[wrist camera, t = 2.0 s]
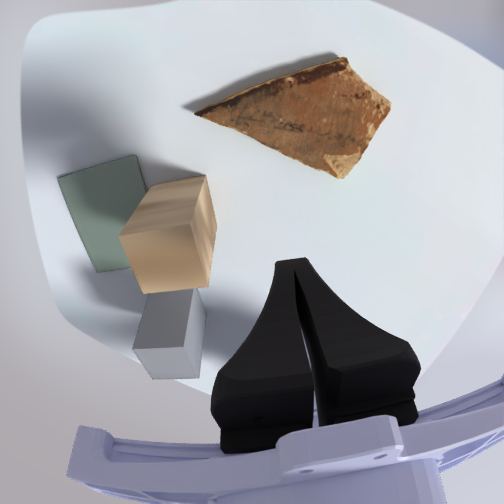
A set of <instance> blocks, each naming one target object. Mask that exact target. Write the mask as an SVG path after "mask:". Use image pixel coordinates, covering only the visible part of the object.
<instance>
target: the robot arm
mask: <svg viewBox="0 0 504 504" xmlns="http://www.w3.org/2000/svg"><path fill="white" fill-rule="evenodd" d="M420 370H421V366H420V363H419V360H418V358H417V356H416V354H415V352H414V351H413V349H412V347H411V346H410V344H409V343H408V342H407V341H405V340H403V339H401V338H398V337H396V336H394V335H392V334H390V333H388V332H386V331H384V330H382V329H380V328H379V327H377V326H375V325H374V324H372V323H371V322H369V321H368V320H366V319H365V318H363V317H362V316H360V315H359V314H358V313H357V312H355V311H354V310H353V309H352V308H350V307H349V306H348V305H347V304H346V303H345V302H343V301H342V300H341V299H340V298H339V297H338V296H337V295H336V294H335V293H334V292H333V291H332V290H331V289H330V287H329V286H328V285H327V284H326V283H325V282H324V281H323V279H322V278H321V277H320V276H319V274H318V273H317V272H316V271H315V269H314V268H313V266H312V265H311V263H310V262H309V260H308V259H307V258H306V257H304V258H297V259H290V260H282V261H277V262H276V263H275V271H274V277H273V281H272V285H271V288H270V292H269V295H268V297H267V300H266V302H265V305H264V308H263V310H262V312H261V314H260V316H259V318H258V320H257V322H256V324H255V325H254V327H253V329H252V330H251V332H250V334H249V335H248V337H247V338H246V340H245V341H244V342H243V344H242V345H241V346H240V348H239V349H238V350H237V352H236V353H235V354H234V355H233V357H232V358H231V359H230V360H229V361H228V362H227V363H226V364H225V365H224V366H223V367H222V368H221V369H220V370H219V371H218V374H217V377H216V380H215V383H214V386H213V391H212V396H211V414H212V416H213V418H214V419H215V421H216V422H217V424H218V426H219V427H220V429H221V436H220V444H186V443H164V442H149V441H138V440H128V439H120V438H114V437H113V436H112V435H111V434H110V433H109V432H107V431H105V430H103V429H99V428H93V427H87V426H79V427H78V431H77V434H76V438H75V441H74V445H73V449H72V453H71V457H70V461H69V466H68V470H67V474H66V475H67V477H69V478H71V479H73V480H75V481H77V482H78V483H80V484H82V485H85V486H86V487H88V488H91V489H92V490H95V491H97V492H99V493H102V494H106V495H110V496H114V497H119V498H123V499H128V500H133V501H137V502H142V503H147V504H447V502H446V497H445V493H444V489H443V485H442V482H441V477H440V473H441V472H443V471H445V470H447V469H450V468H452V467H454V466H456V465H458V464H460V463H462V462H464V461H466V460H468V459H470V458H472V457H474V456H476V455H477V454H479V453H481V452H483V451H485V450H487V449H488V448H490V447H492V446H494V445H495V444H497V443H499V442H501V441H502V440H504V374H503V376H502V378H501V379H500V380H498V381H496V382H494V383H491V384H489V385H487V386H485V387H483V388H480V389H478V390H476V391H473V392H471V393H469V394H466V395H463V396H461V397H458V398H456V399H453V400H450V401H448V402H445V403H442V404H439V405H436V406H434V407H431V408H428V409H425V410H422V411H417V408H416V405H415V402H414V399H415V393H414V390H413V386H414V384H415V382H416V380H417V378H418V376H419V374H420Z"/></svg>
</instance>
